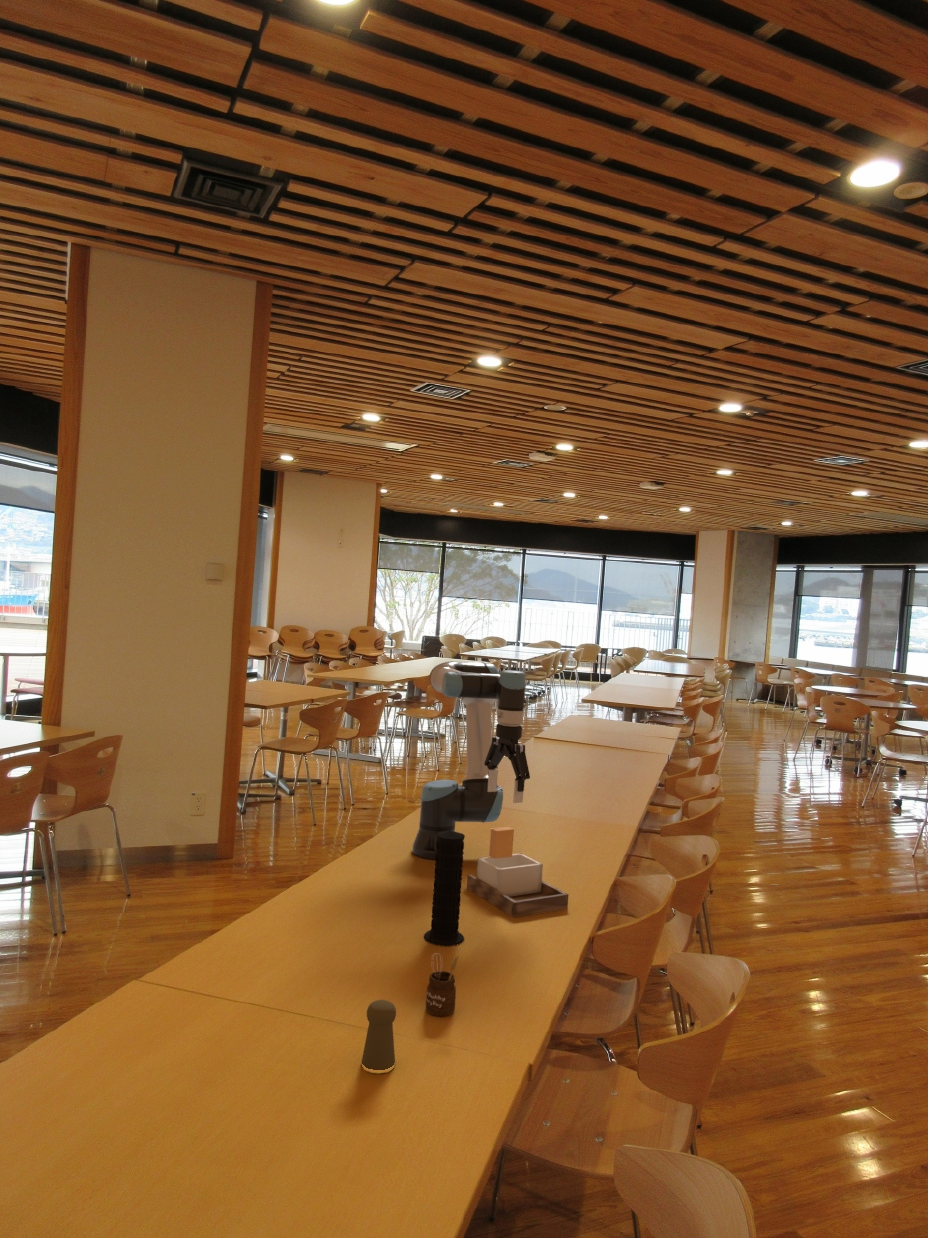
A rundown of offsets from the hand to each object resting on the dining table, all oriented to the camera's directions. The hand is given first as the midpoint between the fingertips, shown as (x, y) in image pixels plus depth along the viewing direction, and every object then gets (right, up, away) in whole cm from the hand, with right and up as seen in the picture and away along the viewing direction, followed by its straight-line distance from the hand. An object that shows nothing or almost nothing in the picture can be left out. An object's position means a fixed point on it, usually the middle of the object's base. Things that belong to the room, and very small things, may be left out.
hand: (504, 797), depth 250 cm
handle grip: (-17, -27, -39) cm, 50 cm away
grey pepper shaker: (-27, -27, -98) cm, 105 cm away
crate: (+1, -25, -4) cm, 26 cm away
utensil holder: (-17, -28, -76) cm, 83 cm away
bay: (+3, -27, -7) cm, 28 cm away
